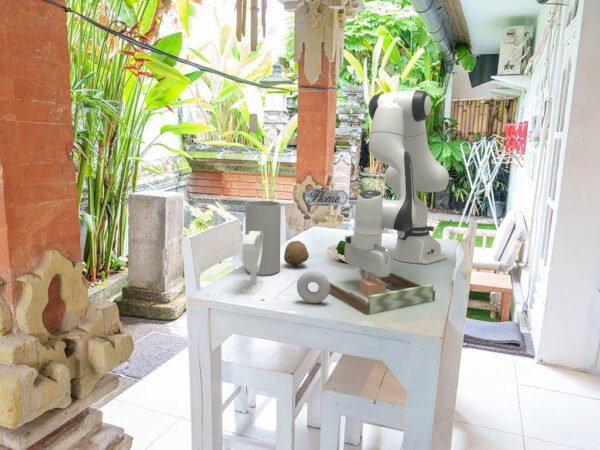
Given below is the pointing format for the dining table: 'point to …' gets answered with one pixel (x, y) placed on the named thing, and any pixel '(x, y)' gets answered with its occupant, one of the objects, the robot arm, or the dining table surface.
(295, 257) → the natural sponge
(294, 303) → the dining table surface
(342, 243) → the bell pepper
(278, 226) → the cylinder vase
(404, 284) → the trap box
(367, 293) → the terracotta block
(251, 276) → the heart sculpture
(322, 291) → the donut
